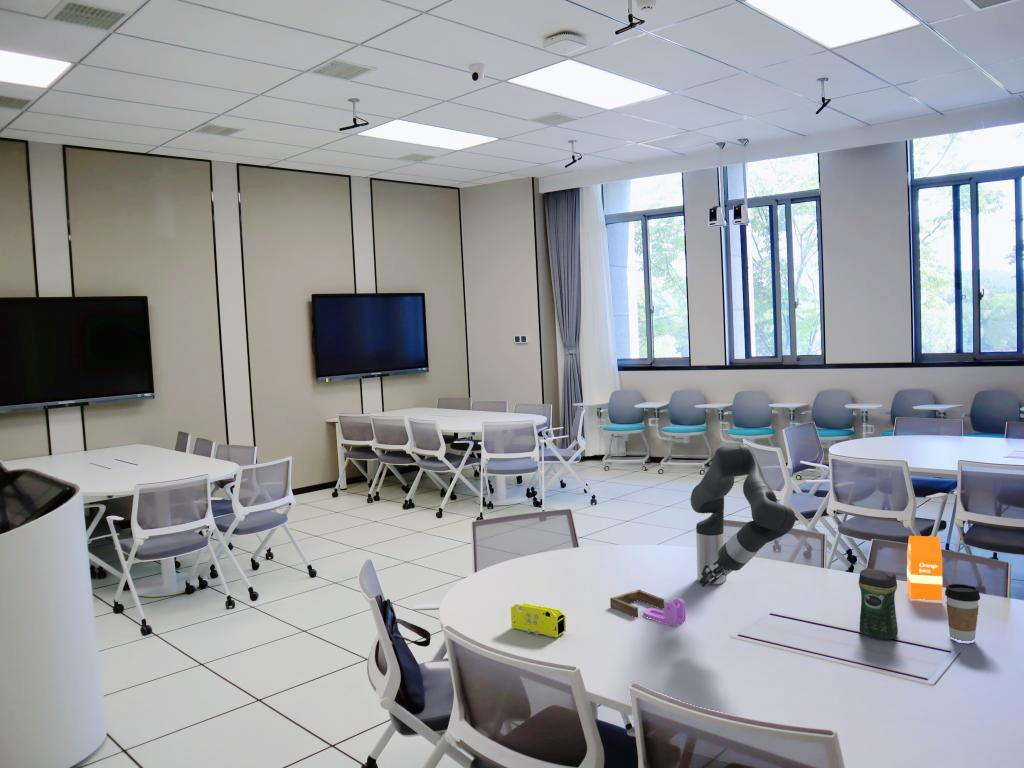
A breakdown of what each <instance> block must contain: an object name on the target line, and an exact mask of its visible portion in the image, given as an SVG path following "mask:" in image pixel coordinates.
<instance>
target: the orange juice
mask: <svg viewBox="0 0 1024 768" xmlns="http://www.w3.org/2000/svg"><path fill="white" fill-rule="evenodd" d="M941 544H942V543H941V537H940V536H927V535H926V536H923V535H909V536H908V543H907V549H906V557H907V558H906V562H907V563H906V566H907V567H906V592H907V591H908V593H909V595H910V598H911V599H922V600H923V599H925V600H942V601H943V554H942V546H941ZM910 598H909V599H910Z"/></svg>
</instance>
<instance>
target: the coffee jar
mask: <svg viewBox="0 0 1024 768" xmlns="http://www.w3.org/2000/svg"><path fill="white" fill-rule="evenodd" d="M897 581H898V580H897V575H896V573H895V572H892V571H886V570H879V569H873V568H869V567H865V568H864V569H862V570H861V571H860V572H859V578H858V587H859V588H860V595H861V597H860V598H861V599H860V601H861V602H860V603H861V604H860V614H859V624H858V625H859V627H858V629H859V633H860V634H861V635H863V634H864V635H863V636H866V635H867V636H866V637H869V636H871V637H870V638H873V637H874V639H878V638H879V639H878V640H883V639H884V640H886V641H889V640H893V639H896V637H897V636H898V634H899V633H898V632H899V629H898V620H897V619H898V618H897V611H896V603H895V602H896V601H895V595H896V591H897V589H898V582H897Z"/></svg>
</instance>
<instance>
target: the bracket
mask: <svg viewBox="0 0 1024 768" xmlns="http://www.w3.org/2000/svg"><path fill="white" fill-rule="evenodd" d="M644 616H645V617H644ZM643 617H644V618H646V617H648V618H647V619H649V618H651V619H650V620H652V619H654V620H653V621H655V620H657V621H656V622H658V621H660V622H659V623H661V622H663V623H662V624H665V623H666V624H665V625H668V624H669V626H671V625H672V626H671V627H674V626H675V627H677V626H679V625H681V624H683V623H685V622H687V620H686V618H687V617H686V603H685V600H684V599H683V598H681V597H677V598H674V599H673V600H672V601H667V602H666V603H664V609H660V608H657V607H655V608H654V607H650V608H645V609H643ZM684 621H685V622H684ZM682 622H683V623H682ZM680 623H681V624H680ZM678 624H679V625H678Z"/></svg>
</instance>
